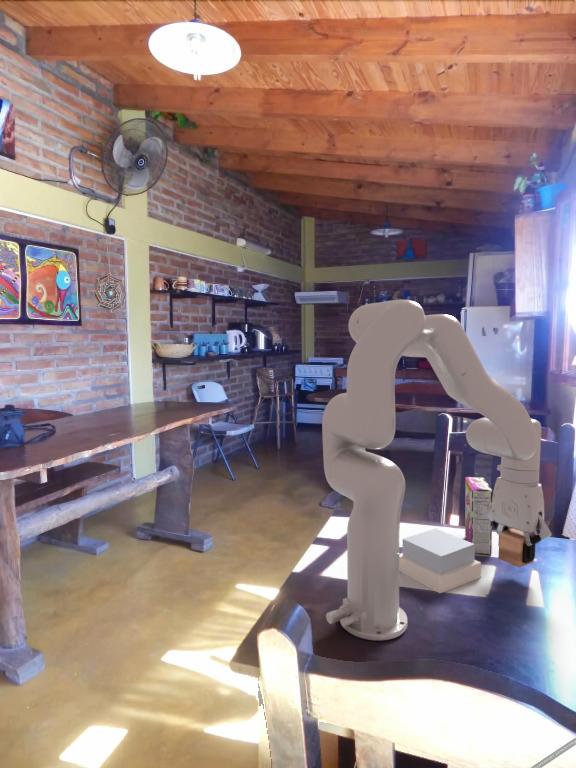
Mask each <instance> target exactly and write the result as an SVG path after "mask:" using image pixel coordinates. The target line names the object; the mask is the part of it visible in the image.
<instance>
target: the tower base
mask: <svg viewBox="0 0 576 768" xmlns="http://www.w3.org/2000/svg"><path fill="white" fill-rule="evenodd" d="M399 573H401V574H404V575H406V576H408V577H410V578H411V579H413V580H414V581H416V582H418V583H420V584H422V585H424V586H426V587H427V588H429V589H431V590H433V591H435V592H437V593H438V594H441V593H444V592H448V591H450V590H452V589H454V588H457V587H460V586H462V585H465V584H468V583H470V582H473V581H475V580H478V579H481V578H482V562H481V561H479V560H476V559H474V562H472V563H469V564H467V565H464V566H462V567H459V568H457V569H454V570H452V571H449V572H447V573H444V574H442V575H440V574H438V573H436V572H434V571H432V570H430V569H428V568H426V567H424V566H422V565H420V564H418V563H416V562H414V561H412V560H410V559H408V558H406V557H404V556H403V552H401V553H400V552H399Z"/></svg>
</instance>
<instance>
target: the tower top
mask: <svg viewBox="0 0 576 768" xmlns="http://www.w3.org/2000/svg"><path fill="white" fill-rule="evenodd" d="M402 553H403V556H404V557H406V558H408V559H410V560H412V561H414V562H416V563H418V564H420V565H422V566H424V567H426V568H428V569H430V570H432V571H434V572H436V573H438V574H440V575H442V574H444V573H447V572H449V571H452V570H454V569H457V568H459V567H462V566H464V565H467V564H469V563H472V562H474V560H475V558H476V557H475V555H476V554H475V544H473V543H471V542H468V541H467V539H466V540H465V539H462V538H460V537H458V536H455V535H453V534H451V533H448V532H444V531H443V530H440V529H437V528H433V529H429V530H427V531H423V532H420V533H417V534H414V535H411V536H407V537H404V538H402Z"/></svg>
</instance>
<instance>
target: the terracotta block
mask: <svg viewBox="0 0 576 768" xmlns="http://www.w3.org/2000/svg"><path fill="white" fill-rule="evenodd" d="M498 544H499V546H498V556H497V557H498V560H501V561H503V562H506V563H508V564H510V565H513V566H515V567H518V568H521V567H524V566H526V565H530V564H532V563H534V560H533V561H531V562H528V563H523V561H522V558H523V545H524V544H526V543H525V538H524V533H523V532H521V531H519V530H516V529H513V528H510V529H508V530H505V531H502V532H500V533H499V535H498Z"/></svg>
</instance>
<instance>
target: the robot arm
mask: <svg viewBox="0 0 576 768" xmlns="http://www.w3.org/2000/svg"><path fill="white" fill-rule="evenodd" d="M347 328H348V332H349V335H350V337H351V339H352V340H353V341H354V342H355V345H354V347H353V348H352V351H351V353H350V356H349V359H348V362H347V369H346V392H343V393H339V394H337V395H335V396H334V397H332V398H331V399H330V401H328V403H327V404H326V407H325V408H324V411H323V415H322V423H321V424H322V426H321V429H322V430H321V433H322V452H323V453H322V455H323V457H322V458H323V470H324V475H325V479H326V481H327V483H328V485H329V486H330V487H331V488H332V489H333V490H334V491H335V492H337V493H339V494H341V495H342V496H343V497H346V498H348V499H349V500H351V501H352V502H353V507H352V510H351V513H350V515H349V518H348V522H347V528H346V529H347V530H346V533H347V534H346V536H347V537H346V538H347V539H346V540H347V541H346V543H347V545H346V548H347V554H346V556H347V571H346V572H347V597H344V598H343V599H342V605H340V606H339V608H338V609H334V610H331V611H329V612H327V613H326V614H325V618H326V621H327V622H328V624H334V623H337V622H340V625H341V627H342V628H343V629H344V630H345V631H347V632H348V633H349V634H351V635H353V636H355V637H357V638H360V639H363V640H368V641H369V640H370V641H389V640H392V639H395V638H397V637H400V636H401V635H402V634H404V633H405V632H406V630H407V629H408V626H409V625H408V622H409V621H408V616H407V613H406V612H405V611H404V609H403V608H402V607H400V571H399V554H400V527H401V526H400V525H401V524H400V523H401V522H400V521H401V515H402V514H401V513H402V506H403V502H404V498H405V497H404V496H405V491H406V480H405V476H404V473H403V472H402V470H401V468H400V467H399V466H398V465H397V464H396V463H394V462H393V461H392V460H390V459H388V458H386V457H384V456H381V455H379V454H375V453H373V452H370V451H366V449H368V450H382V449H384V448H387V447H388V446H390V444H391V443H392V441H393V440H394V437H395V434H396V394H395V393H396V391H395V389H396V385H395V382H396V370H397V367H398V363H399V361H400V359H401V358H402V357H403V356H404V357H411V358H426V360H427V361H428V363H429V364H430V366H431V368H432V370H433V371H434V373H435V375H436V376H437V379H438V380H439V382H440V385H442V386H441V387H443V389H444V391H445V392H446V395H448V396H449V397H450V398H451V399H453V400H455V401H456V402H458V403H459V404H461V405H462V406H465V407H467V408H469V409H471V410H473V411H475V412H476V413H479V414H481V415H482V416H483V417H481V418H478V419H475V420H474V421H472V422H470V424H469V425H468V427H467V429H466V431H465V437H466V441H467V443H468V445H469V446H470V447H471V448H472V449H474V450H476V451H478V452H480V453H484V454H486V455H490V456H491V455H492V456H495V457H499V458H501V459H500V460H501V461H500V464H497V467H496V470H497V471H499V472H500V476H499V477H497V478H496V480H495V484H494V489H493V490H492V506H491V510H490V511H489V512H488V513H487V516H488V518H489V519H490V520H491V522H492V526H493V527H494V528H495V530H496V535H498V536H499V533H500V532H502V531H505V530H508V529H512V528H513V529H516V530H519V531H521V532H523V533H524V538H525V543H526V544H524V545H523V558H522V561H523V563H528V562H531V561H533V562H534V560H535V558H536V545H537V544H538V543H540V542H541V541H543V540H544V539H547V538H549V537H551V536H552V535H553V534H552V532H551V530H550V528H549V527H548V525H547V524H546V523H547V522H546V521H545V500H544V491H543V487H542V483H540V465H541V463H540V462H541V449H542V448H541V447H542V446H541V444H542V424H541V422H540V421H539V420H537V419H534V418H531V417H530V414H529V413H528V411H527V409H526V407H525V406H524V405H523V403H522V402H521V401H520V400H519V399H518V398H517V397H516V396H514V394H512V393H511V392H510V391H509V390H508V389H507V388H506V387H504V386H503V385H502V384H500V383H499V382H498V381H497V380H495V379H494V378H493V377H491V376H490V375H489V374H488V372H487V371H486V369H485V368H484V365H483V363H482V361H481V360H480V358H479V357H478V354H477V353H476V350H475V349H474V347H473V344H472V342H471V341H470V339H469V336H468V335H467V333H466V331H465V329H464V326H462V324H461V322H460V321H459V320H458V319H457V318H456V317H454V316H453V315H449V314H443V313H440V314H439V313H437V314H427V315H426V314H425V311H424V309H423V307H422V306H421V305H420V304H419V303H418V302H416V301H415V300H410V299H393V300H386V301H381V302H374V303H373V302H372V303H367V304H364V305H360V306H358V307H357V308H356V309H355V310H354V311H353V312H352V314H351V315H350V317H349V320H348V327H347ZM537 530H539V533H538V532H537ZM497 546H498V547H499V543H498V545H497Z"/></svg>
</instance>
